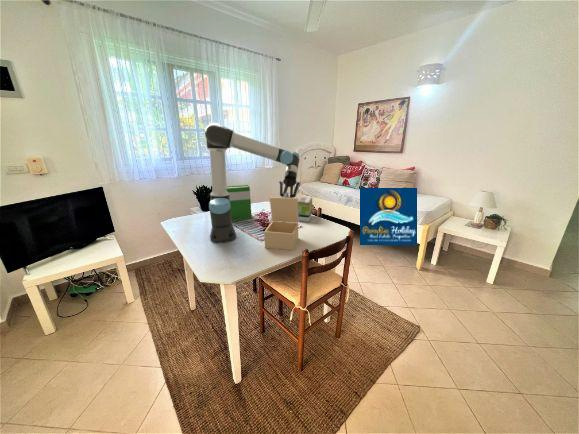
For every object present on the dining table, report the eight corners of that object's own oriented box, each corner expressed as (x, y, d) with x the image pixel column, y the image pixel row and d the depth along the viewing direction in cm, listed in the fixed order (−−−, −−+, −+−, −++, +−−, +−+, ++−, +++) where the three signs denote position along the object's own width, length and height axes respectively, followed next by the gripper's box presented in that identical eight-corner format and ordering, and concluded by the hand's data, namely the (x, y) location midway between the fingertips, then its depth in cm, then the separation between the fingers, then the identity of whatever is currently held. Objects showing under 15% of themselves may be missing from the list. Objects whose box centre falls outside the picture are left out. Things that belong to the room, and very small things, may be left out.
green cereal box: (250, 215, 175) (248, 184, 167) (251, 218, 169) (249, 186, 161) (226, 217, 170) (223, 186, 162) (227, 221, 164) (224, 188, 156)
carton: (264, 247, 124) (264, 231, 121) (272, 235, 139) (272, 221, 136) (293, 250, 121) (293, 234, 118) (298, 237, 136) (298, 223, 133)
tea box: (309, 222, 161) (310, 202, 156) (295, 221, 163) (295, 201, 158) (311, 215, 175) (312, 196, 170) (299, 214, 177) (299, 196, 172)
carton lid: (269, 197, 127) (273, 190, 134) (272, 221, 136) (275, 213, 143) (297, 198, 124) (299, 191, 131) (298, 222, 133) (300, 214, 140)
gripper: (303, 177, 145) (299, 210, 136) (280, 177, 148) (274, 208, 138) (302, 170, 139) (297, 204, 129) (278, 170, 142) (272, 202, 132)
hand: (285, 206), depth 134 cm, fingers closed on carton lid, 2 cm apart
